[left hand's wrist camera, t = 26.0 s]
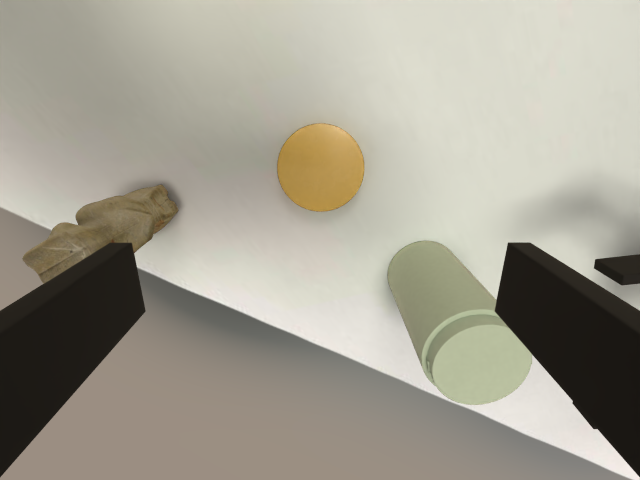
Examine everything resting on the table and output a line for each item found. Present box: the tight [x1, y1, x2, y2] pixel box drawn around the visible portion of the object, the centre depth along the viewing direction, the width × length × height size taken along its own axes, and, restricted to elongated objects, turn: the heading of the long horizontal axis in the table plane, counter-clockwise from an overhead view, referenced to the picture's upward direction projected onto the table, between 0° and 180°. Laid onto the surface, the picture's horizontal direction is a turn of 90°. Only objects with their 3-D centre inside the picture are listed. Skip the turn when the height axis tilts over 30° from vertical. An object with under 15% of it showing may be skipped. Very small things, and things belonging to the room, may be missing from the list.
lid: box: [277, 123, 364, 211], centre depth 38 cm, size 9×9×2 cm
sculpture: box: [23, 185, 178, 283], centre depth 33 cm, size 6×7×15 cm
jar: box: [388, 241, 532, 405], centre depth 35 cm, size 9×9×17 cm
